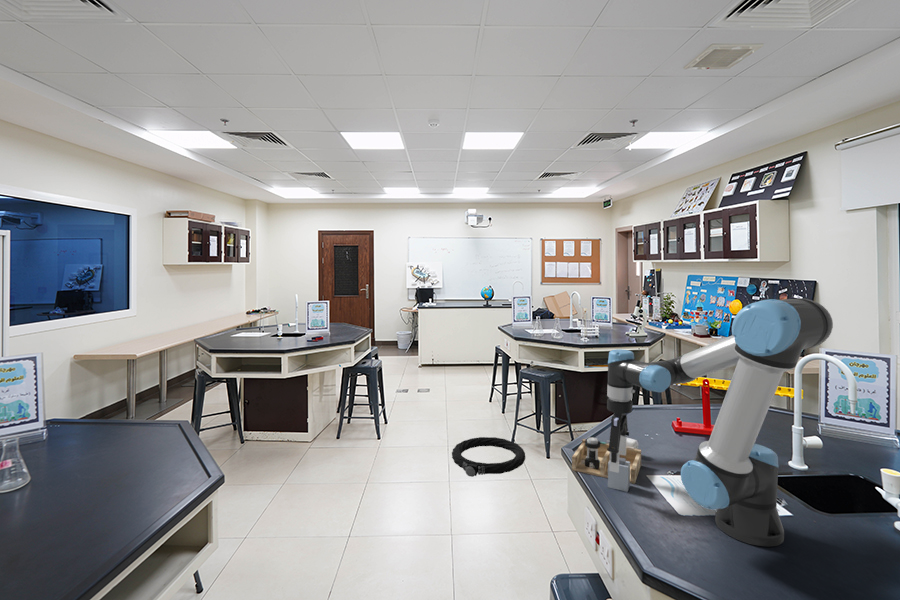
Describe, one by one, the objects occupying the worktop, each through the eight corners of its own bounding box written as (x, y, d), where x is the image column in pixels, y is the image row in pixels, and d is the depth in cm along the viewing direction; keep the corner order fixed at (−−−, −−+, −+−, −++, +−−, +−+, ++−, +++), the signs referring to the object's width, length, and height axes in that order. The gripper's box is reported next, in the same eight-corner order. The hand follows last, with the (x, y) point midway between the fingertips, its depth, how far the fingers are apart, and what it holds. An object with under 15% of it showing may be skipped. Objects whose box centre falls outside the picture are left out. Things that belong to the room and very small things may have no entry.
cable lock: (534, 442, 167) (508, 475, 141) (534, 452, 168) (508, 486, 141) (470, 431, 180) (434, 458, 154) (470, 440, 181) (434, 469, 154)
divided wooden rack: (634, 484, 141) (634, 465, 140) (571, 470, 151) (571, 453, 151) (640, 465, 154) (641, 448, 154) (582, 453, 164) (583, 438, 164)
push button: (578, 467, 152) (578, 439, 151) (583, 461, 156) (583, 434, 155) (598, 471, 148) (598, 443, 147) (602, 465, 152) (602, 438, 152)
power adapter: (605, 450, 168) (605, 435, 167) (610, 446, 171) (611, 432, 170) (633, 458, 159) (634, 443, 159) (639, 454, 163) (639, 439, 162)
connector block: (627, 491, 136) (628, 463, 135) (607, 487, 139) (608, 459, 138) (629, 485, 140) (630, 458, 139) (610, 481, 143) (610, 454, 142)
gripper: (625, 412, 125) (623, 482, 127) (638, 390, 146) (636, 450, 148) (599, 407, 129) (597, 476, 131) (614, 386, 150) (613, 446, 152)
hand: (617, 462), depth 139 cm, fingers open, 13 cm apart
